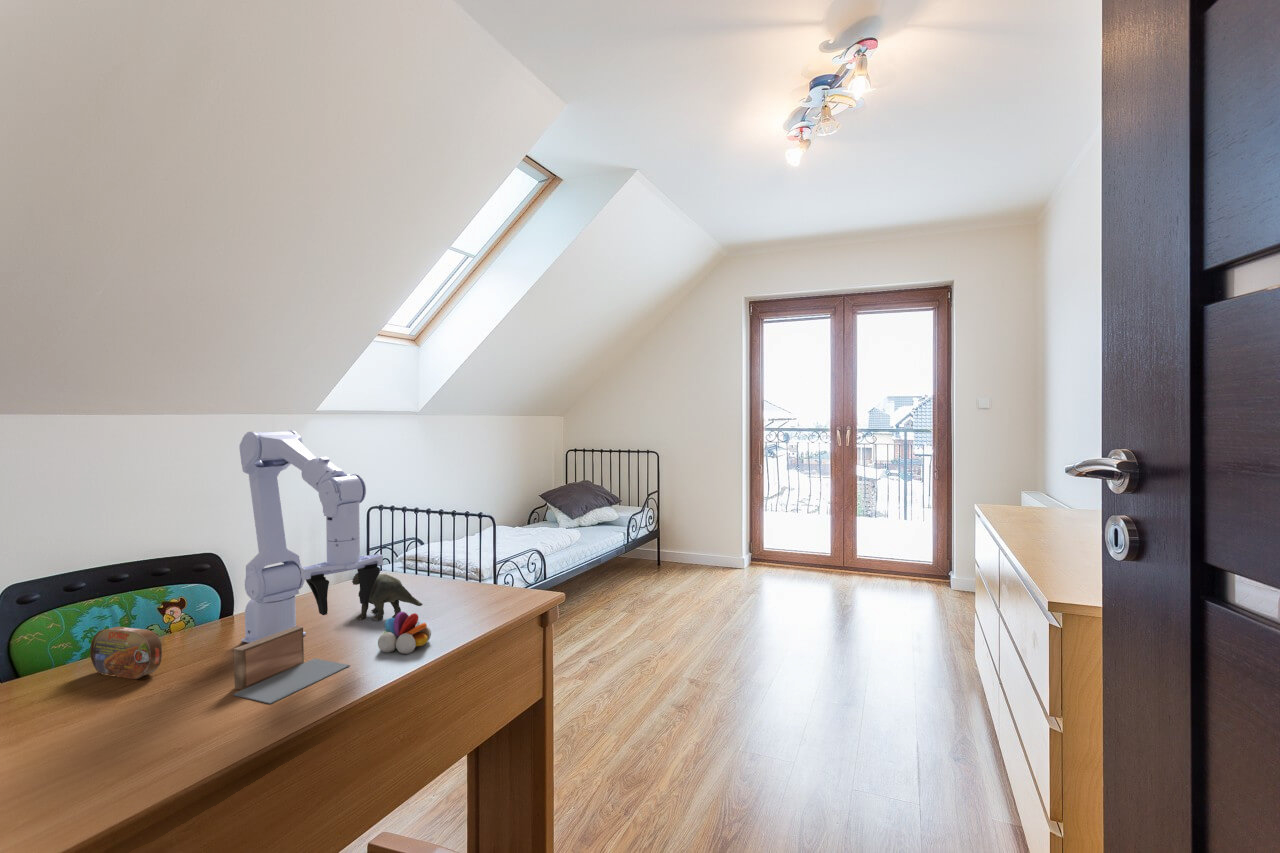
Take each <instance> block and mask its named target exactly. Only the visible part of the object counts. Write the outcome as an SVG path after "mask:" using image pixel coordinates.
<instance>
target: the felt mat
mask: <svg viewBox="0 0 1280 853" xmlns="http://www.w3.org/2000/svg"><path fill="white" fill-rule="evenodd" d="M350 666H351V665H350V664H346V663H341V662H336V661H330V660H325V659H322V658H321V659H320V658H315V657H314V658H312V659H310V660H308V661H304V663H303V664H301V665H298V666H296V667H294V668H291V669H289V670H287V671H285V672H282V673H280V674H278V675H275V676H273V677H271V678H269V679H266V680H264V681H262V682H259V683H257V684H255V685H252V686H250V687H248V688H246V689H243V690H239V691H237V692H234V693H232V696H235V697H238V698H243V699H248V700H252V701H256V702H260V703H265V704H267V705H268V704H269V705H273V704H274V703H276V702H278V701H280V700H282V699H284V698H286V697H288V696H290V695H293V694H295V693H297V692H299V691H301V690H303V689H305V688H307V687H309V686H311V685H313V684H316V683H318V682H319V681H322V680H324V679H325V678H328V677H330V676H332V675H335V674H337V673H338V672H341V671H343V670H344V669H347V668H349V667H350Z"/></svg>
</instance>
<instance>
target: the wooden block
mask: <svg viewBox="0 0 1280 853" xmlns="http://www.w3.org/2000/svg"><path fill="white" fill-rule="evenodd" d="M303 632H304V627H303V626H298V625H296V626H294V627H292V628H289V629H286V630H284V631H281V632H278V633H275V634H273V635H270V636H267V637H264V638H262V639H259V640H256V641H254V642H251V643H246V644H243V645H240V646H238V647H235V648H233V670H234V671H233V672H234V673H233V676H234V678H233V679H234V681H233V682H234V684H233V685H234V689H236V690H239V691H241V690H243V689H246V688H248V687H250V686H252V685H255V684H257V683H259V682H262V681H264V680H266V679H269V678H271V677H273V676H275V675H278V674H280V673H282V672H285V671H287V670H289V669H291V668H294V667H296V666H298V665H301V664H303V663H305V659H304V658H305V656H304V654H305V650H304V648H305V647H304V635H303Z"/></svg>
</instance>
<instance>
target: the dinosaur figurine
mask: <svg viewBox="0 0 1280 853" xmlns="http://www.w3.org/2000/svg"><path fill="white" fill-rule="evenodd" d="M352 577H353V578H352V580H351V583H352V585H355V586H357V585H358V586H359V585H360V584H359V576H358V572H357V573H355V574H354V575H353V576H352ZM358 597H359V599H360V590H358ZM400 602H403V603H408V604H410V605H414V606H417V607H421V606H423V605H424V604H423V603H422V602H420V601H419V600H418V599H417V598H415V597H414V596H413V595H412V594H411V592H409V590H408V589H407V588H406V587H405V586H404V584H403V583H402V582H401V580H400V579H399V578H397V577H394V576H392V575H390V574H387V573H383V574H382V573H380V574H379V575H378V577H377V579H376V581H375V583H374V585H373V588H372V591H371V594H370V598H369V602H368V605H363V604H361V607H360V608H361V610H360V611H361V613H360V614H359V615H357V616H356V618H355V619H358V620H364V619H366V618H367V616H368V615H367V613H368V609H369V604H371V605H373V606H374V608H373V609H371V611H370V612H373V613H377V615H376V616H373V617H372V620H373V621H379V620H383V619H384V615H385V610H384V609H385V608H384V607H385V604H386V603H390V605H391V607H392V608H393V613H394V614H393V615H392V616H391V618H395V617H396V615H397V614H398V613H399V612H402V609H401V607H400Z"/></svg>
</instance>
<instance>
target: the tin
mask: <svg viewBox="0 0 1280 853" xmlns="http://www.w3.org/2000/svg"><path fill="white" fill-rule="evenodd" d="M162 644H163V643H162V641H161V639H160V638H159V636H158V634H157V633H156V632H154V631H153V630H150V629H145V628H136V627H135V628H134V627H126V626H114V627H110V628H106V629H105V628H104V629H101V630H99V631H97V633H96V634H95V635H94V636H93V638H92V640H91V644H90V650H89V652H90V654H89V656H90V659H91V662H92V665H93V667H94V669H95V670H96V671H97V672H98V674H100V673H103V674H108V675H115V676H119V677H118V678H121V677H124V678H123V679H129V680H138V679H141V678H142V677H145V676H148V675H151V674H153V673H154V672H155V671H157V669H158V668H160V665H161V664H162V656H163V655H162V654H163V651H162Z"/></svg>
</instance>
